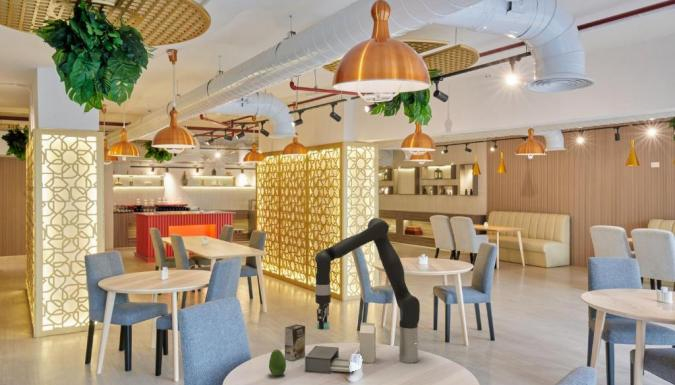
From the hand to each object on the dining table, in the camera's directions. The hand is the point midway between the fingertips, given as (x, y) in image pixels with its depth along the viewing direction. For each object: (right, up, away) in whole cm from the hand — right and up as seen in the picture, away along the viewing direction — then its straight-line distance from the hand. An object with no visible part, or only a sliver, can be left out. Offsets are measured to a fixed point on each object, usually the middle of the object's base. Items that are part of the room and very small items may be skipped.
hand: (323, 327), depth 259 cm
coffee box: (-15, -19, +13) cm, 28 cm away
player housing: (0, -19, 0) cm, 19 cm away
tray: (+10, -18, -2) cm, 21 cm away
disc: (0, 0, 0) cm, 0 cm away
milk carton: (+22, -19, +9) cm, 31 cm away
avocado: (-21, -20, -12) cm, 31 cm away
